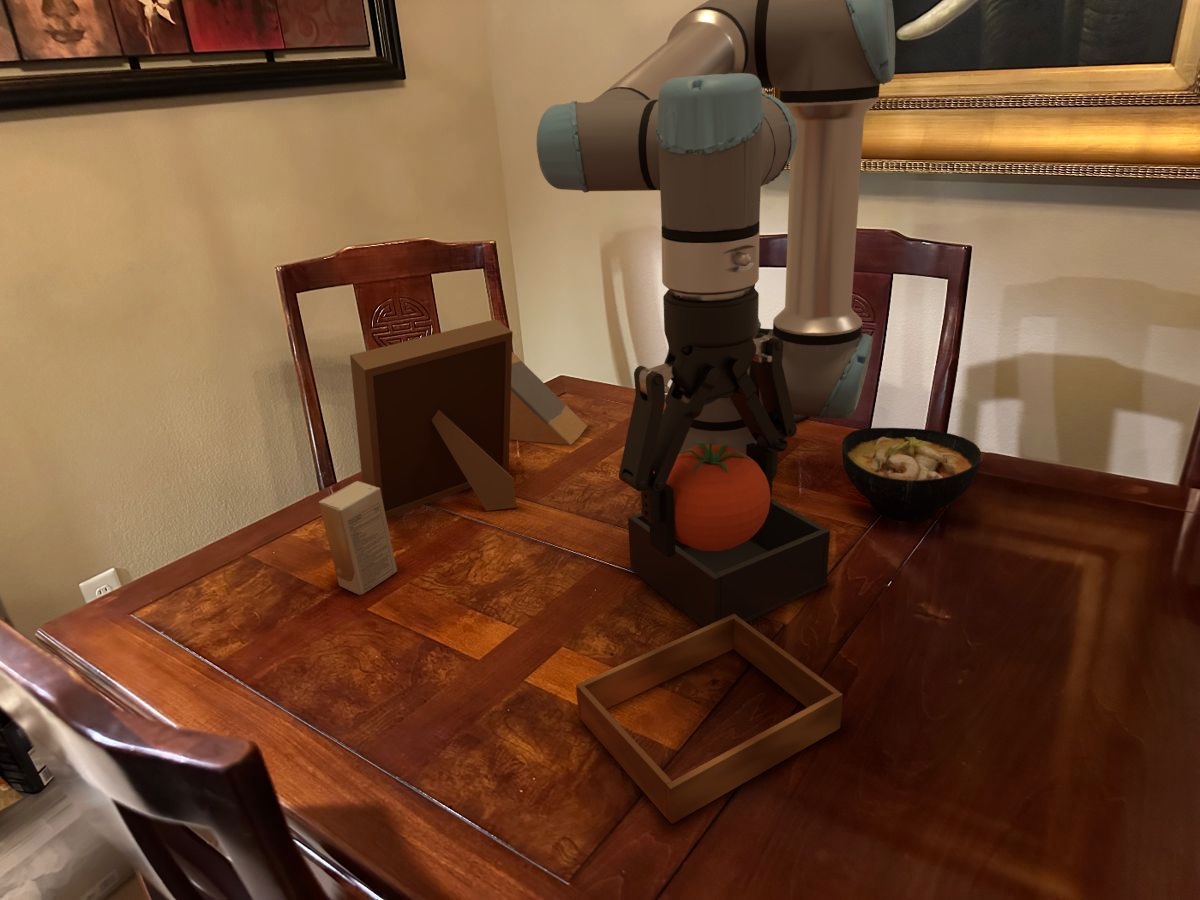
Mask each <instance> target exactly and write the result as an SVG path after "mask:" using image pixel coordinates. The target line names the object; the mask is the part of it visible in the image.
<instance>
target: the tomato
mask: <svg viewBox="0 0 1200 900" xmlns="http://www.w3.org/2000/svg"><path fill="white" fill-rule="evenodd" d="M694 444H699V445H700V446H698V447H694V448H690V449H688V450H685V451H683V452H679V454H678V457H677V459H676V461H675V464H674V466H673V468H672V471H671V473H670V475H669V477H668V480H667V482H666V484H667V485H669V486H670V487H672V488H673V490H674V526H675V539H677V540H678V541H679V542H681V543H683V544H685V545H688V546H690V547H692V548H695V549H698V550H703V551H721V550H726V549H731V548H734V547H736V546H738V545H740V544H742V543H744V542H746V541H747V540H749V539H750V538H751V537H753V536H754V535H755V534H756V533H757V532H758V530H759V529H760V528H761V526H762V525H763V523H764V522H765V519H766V517H767V515H768V512H769V506H770V500H771V496H770V488H769V484H768V481H767V478H766V476H765V474H764V473H763V471H762V470H761V468H760V467H759V465H758V464H757V463H756V462H755V461H754V460H753V459H751V458H750V457H749V456H747V455H746V454H744V453H743V452H741V451H739V450H736V449H733V448H730V447H727V446H728V445H729V444H727V445H722V446H720V445H713V443H712V442H711V443H710V445H705V444H704V443H694Z"/></svg>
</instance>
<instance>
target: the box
mask: <svg viewBox="0 0 1200 900" xmlns="http://www.w3.org/2000/svg"><path fill="white" fill-rule="evenodd" d="M732 650H734V651H735V652H736V653H737V654H739V655H740V656H741V657H742V658H744V659H745V660H746V661H747V662H748V663H750V664H751V665H753V666H754V667H755V668H756V669H758V670H759V671H760V672H761V673H762V674H764V675H765V676H766V677H768V678H769V679H770V680H771V681H773V683H775V684H777V685H778V687H780V688H782V689H783V690H784V691H785V692H786V693H788V694H789V695H790V696H792V697H793V698H794V699H795V700H797V701H798V702H799V703H801V705H803V706H804V707H805V708H804V709H802V710H800V711H799V712H796V713H795V714H793V715H791V716H790V717H788V718H786V719H784V720H782V721H781V722H778V723H776V724H775V725H773V726H771V727H769V728H768V729H765V730H764V731H762V732H760V733H758V734H757V735H755V736H753V737H751V738H749V739H747V740H745V741H743V742H742V743H740V744H738V745H736V746H734V747H732V748H731V749H729V750H727V751H725V752H723V753H721V754H719V755H717V756H716V757H714V758H712V759H710V760H708V761H707V762H705V763H703V764H701V765H699V766H697V767H696V768H694V769H692V770H690V771H688V772H686V773H684V774H683V775H681V776H679V777H677V778H675V779H673V780H672V779H671V778H670V777H669V776H668V775H667V773H665V772H664V770H663V769H662V768H661V767H660V766H659V765H658V764H657V763H656V761H654V760H653V759H652V757H650V755H649V754H648V753H647V752H646V751H645V750H644V749H643V748H642V747H641V746H640V744H638V743H637V741H636V740H635V739H634V738H633V737H632V736H631V734H629V732H627V730H626V729H625V728H624V727H623V726H622V725H621V724H620V723H619V722H618V720H616V719H615V717H614V716H613V715H612V714H611V713H610V712H609V711H608V709H610V708H613V707H614V706H616V705H619V704H620V703H622V702H625V701H627V700H629V699H631V698H634V697H635V696H637V695H639V694H642V693H645V692H646V691H648V690H650V689H652V688H654V687H656V686H658V685H660V684H663V683H664V682H667V681H669V680H671V679H673V678H675V677H678V676H679V675H682V674H684V673H686V672H688V671H690V670H692V669H695V668H697V667H699V666H701V665H702V664H705V663H707V662H709V661H711V660H713V659H715V658H718V657H720V656H721V655H724V654H726V653H728V652H730V651H732ZM575 689H576V702H577V703H576V704H577V713H578V714H577V715H578V719H579V720H580V721H581V722H582V723H583V724H584V726H586V728H587V729H588V730H589V731H590V732H591V733H592V735H593V736H594V737H595V738H596V739H597V740H598V742H599V743H600V744H601V745H602V746H603V747H604V749H606V751H607V752H608V753H609V754H610V755H611V756H612V758H613V759H614V760H615V761H616V762H617V763H618V764H619V766H620V767H621V768H622V769H623V770H624V771H625V773H626V774H627V775H628V776H629V777H630V778H631V780H632V781H633V782H634V783H635V784H636V785H637V787H639V789H640V790H641V791H642V792H643V793H644V794H645V795H646V797H647V798H648V799H649V800H650V801H651V802H652V804H653V805H654V806H655V807H656V809H658V810H659V812H660V813H661V814H662V815H663V816H664V817H665V819H666V820H667V821H668V822H669V824H671V825H673V824H675V823H677V822H678V821H680V820H682V819H684V818H686V817H687V816H689V815H690V814H692V813H695V812H696V811H697V810H699V809H702V808H703V807H705V806H707V805H708V804H710V803H712V802H714V801H715V800H717V799H719V798H721V797H722V796H724V795H725V794H728V793H729V792H731V791H733V790H735V789H736V788H738V787H740V786H741V785H743V784H745V783H747V782H749V781H750V780H752V779H754V778H756V777H757V776H759V775H761V774H762V773H764V772H766V771H768V770H770V769H771V768H773V767H775V766H777V765H779V764H780V763H782V762H784V761H785V760H787V759H789V758H790V757H792V756H794V755H796V754H797V753H799V752H801V751H803V750H804V749H806V748H808V747H809V746H811V745H814V744H815V743H817V742H818V741H820V740H822V739H824V738H825V737H828V736H829V735H831V734H832V733H834V732H837V731H838V730H840V729H841V723H842V709H843V697H844V696H843V695H844V694H843V693H842V692H840V691H839V690H837V689H836V687H834V686H832V685H831V684H830V683H828V682H827V681H825V679H823V678H822V677H820V676H819V675H818V674H817V673H815V672H814V671H812V670H811V669H810V668H808V667H807V666H805V665H804V664H803V663H802V662H800V661H799V660H798V659H796V658H795V657H793V655H791V654H789V653H788V652H787V651H785V650H784V649H782V648H781V647H780V646H778V645H777V644H776V643H775V642H773V641H772V640H771V639H769V638H768V637H766V636H765V635H764V634H762V633H761V632H760V631H758V630H757V629H756V628H754V627H753V626H751V624H749V623H748V622H747V623H746V622H745V621H743V620H742V619H741V618H739V617H738V616H737V615H735V614H732V615H730V616H728V617H726V618H723V619H721V620H719V621H717V622H714V623H712V624H710V625H708V626H706V627H700V628H699V629H697V630H695V631H693V632H690V633H688V634H685V635H683V636H682V637H679V638H677V639H675V640H673V641H670V642H668V643H666V644H663V645H661V646H659V647H657V648H654V649H652V650H650V651H647V652H646V653H644V654H641V655H639V656H637V657H634V658H632V659H629V660H628V661H626V662H624V663H622V664H619V665H617V666H614V667H612V668H610V669H608V670H606V671H604V672H601V673H599V674H597V675H595V676H592V677H590V678H588V679H585V680H583V681H581V682H579V683H576V685H575Z"/></svg>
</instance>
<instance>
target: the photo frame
mask: <svg viewBox="0 0 1200 900" xmlns="http://www.w3.org/2000/svg"><path fill="white" fill-rule="evenodd" d="M513 333H514V332H513V331H512V329H509V328H508V327H507V326H506V325H504V323H502V322H500V320H498V319H496V318H494V319H491V320H487V321H483V322H478V323H474V324H470V325H466V326H462V327H459V328H458V327H457V328H454V329H451V330H447V331H442V332H438V333H434V334H430V335H425V336H422V337H418V338H414V339H410V340H406V341H402V342H397V343H393V344H389V345H385V346H382V347H381V346H380V347H377V348H373V349H369V350H365V351H362V352H357V353H352V354H350V355H349V359H350V368H351V369H350V370H351V381H352V388H353V389H352V390H353V398H354V400H353V401H354V410H355V419H356V430H357V431H356V432H357V442H358V450H359V460H360V462H359V463H360V470H361V471H360V472H361V482H363V483H366V484H369V485H372V486H375V487H378V488H380V491H381V496H382V500H383V505H384V510H385V515H386V519H389V518H391V517H392V518H393V517H395V516H397V515H400V514H402V513H405V512H408V511H412V510H414V509H416V508H417V509H418V508H420V507H422V506H424V505H427V504H431V503H432V502H433V503H434V502H436V501H438V500H442V499H443V498H444V499H445V498H446V497H449V496H452V495H455V494H457V493H460V492H464V491H465V490H469V489H472V490H473V492H474V493H475V495H476V497H477V499H478V500H479V502H480V504H481V505H482V507H483V509H484V510H485V511H486V512H490V511H498V510H505V509H506V510H507V509H515V508H517V500H516V491H515V484H514V477H513V476H512V475H511V474H510V442H511V440H510V406H511V370H512V352H513Z"/></svg>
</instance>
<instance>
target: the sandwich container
mask: <svg viewBox="0 0 1200 900" xmlns="http://www.w3.org/2000/svg"><path fill="white" fill-rule="evenodd" d="M587 427H588V424H586V423H585V422H584V420H582V419H581V418H580V417H579V416H578V415H577V414H576V413H575V412H574V411H573V410H572V409H571V408H570V407H569V406H568V405H567V404H566V403H565V402H564V401H562V400H561V399H560V397H558V396H557V395H556V393H554V392H553V391H552V390H551V389H550V388H549V387H548V386H547V385H546V383H545V382H543V380H541V378H539V377H538V376H537V375H536V374H535V373H534V372H533V371H532V370H531V369H530V368H529V367H528V366H527V365H526V364H525V363H524V362H523V361H522V360H521V358H519V356H518V355H517V354H515V352H514V351H512V370H511V406H510V441H519V442H529V443H541V444H542V443H544V444H555V445H566V446H568V445H569V446H572V445H573V443H575V442H576V441H577V440H578V438H579V437H581V436H582V434H583V433H584V431H585V430H586V429H587Z"/></svg>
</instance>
